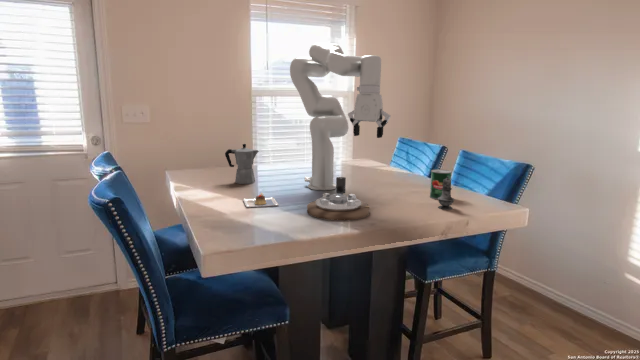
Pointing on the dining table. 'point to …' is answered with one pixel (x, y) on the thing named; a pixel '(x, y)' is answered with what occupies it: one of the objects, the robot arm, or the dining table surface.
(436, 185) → the canned tomato
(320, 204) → the crank handle
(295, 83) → the robot arm
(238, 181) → the coffeepot
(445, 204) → the gray candlestick
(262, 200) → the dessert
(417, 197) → the dining table surface
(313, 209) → the base
